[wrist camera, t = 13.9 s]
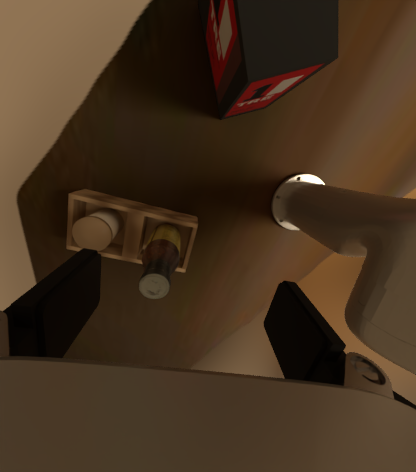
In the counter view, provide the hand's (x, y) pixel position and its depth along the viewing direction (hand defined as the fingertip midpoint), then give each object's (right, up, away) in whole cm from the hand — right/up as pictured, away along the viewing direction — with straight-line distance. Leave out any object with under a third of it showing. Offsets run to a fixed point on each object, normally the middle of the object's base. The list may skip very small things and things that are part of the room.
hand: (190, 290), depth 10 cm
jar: (-20, +6, +32) cm, 38 cm away
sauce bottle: (-8, +3, +34) cm, 35 cm away
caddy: (-14, +5, +34) cm, 37 cm away
